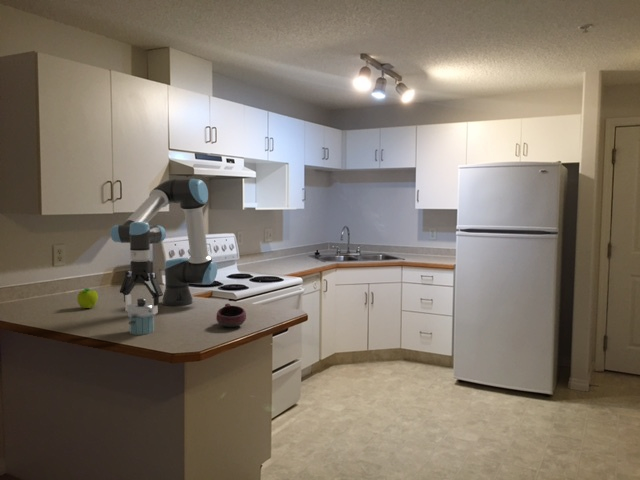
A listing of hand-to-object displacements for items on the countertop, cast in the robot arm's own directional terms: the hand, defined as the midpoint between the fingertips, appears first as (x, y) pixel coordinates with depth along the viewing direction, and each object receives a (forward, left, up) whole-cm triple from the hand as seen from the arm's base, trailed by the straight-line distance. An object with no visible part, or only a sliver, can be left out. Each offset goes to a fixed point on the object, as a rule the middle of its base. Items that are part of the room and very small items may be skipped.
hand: (141, 311), depth 217 cm
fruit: (-24, -55, -8) cm, 61 cm away
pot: (0, 0, -8) cm, 8 cm away
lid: (0, 0, -1) cm, 1 cm away
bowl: (-23, +27, -8) cm, 36 cm away
